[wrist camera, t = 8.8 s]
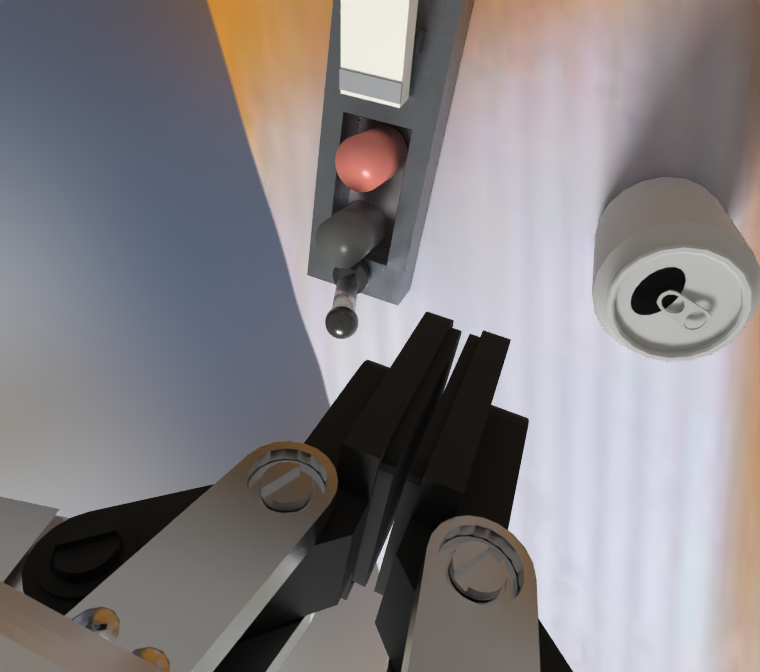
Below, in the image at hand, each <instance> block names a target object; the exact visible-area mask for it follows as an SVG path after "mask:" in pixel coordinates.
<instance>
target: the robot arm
mask: <svg viewBox="0 0 760 672" xmlns="http://www.w3.org/2000/svg"><path fill="white" fill-rule="evenodd" d="M452 327H453V320H451V319H448V318H445V317H442V316H439V315H436V314H433V313H430V312H426V313H425V314H424V316H423V318H422V319H421V321H420V322H419V324H418V325H417V327H416V328H415V330H414V332H413V333H412V335H411V336H410V338H409V339H408V341H407V343H406V344H405V346H404V347H403V349H402V350H401V352H400V353H399V355H398V357H397V358H396V360H395V361H394V363H393V364H392V366H391V368H389V367H386V366H383V365H381V364H378V363H375V362H373V361H370V360H366V361H365V362H364V363H363V364H362V365H361V366H360V368H359V369H358V370H357V372H356V373H355V374H354V376H353V377H352V378H351V380H350V381H349V383H348V384H347V385H346V387H345V388H344V389H343V391H342V392H341V393H340V395H339V396H338V398H337V399H336V400H335V402H334V403H333V404H332V406H331V407H330V409H329V410H328V411H327V413H326V414H325V415H324V417H323V418H322V419H321V421H320V422H319V424H318V425H317V427H316V428H315V429H314V430H313V432H312V433H311V434H310V436H309V437H308V439H307V440H306V441H305V443H299V442H291V441H284V442H273V443H270V444H268V445H264V446H261V447H259V448H257V449H256V450H254V451H253V452H251V453H250V454H248V455H247V456H246V457H245V458H244V459H243V460H241V461H240V462H239V463H238V464H237V465H236V466H235V467H233V468H232V469H231V470H230V471H229V472H228V473H227V474H225V475H224V476H223V477H222V478H221V479H220V480H219V481H217V482H216V483H215V484H213V485H209V486H205V487H200V488H195V489H190V490H187V491H181V492H177V493H173V494H168V495H164V496H159V497H154V498H149V499H145V500H140V501H136V502H132V503H127V504H122V505H118V506H113V507H108V508H104V509H99V510H95V511H90V512H87V513H84V514H81V515H78V516H75V517H72V518H66V517H62V515H61V512H60V509H56V508H51V507H46V506H42V505H37V504H32V503H27V502H23V501H18V500H13V499H9V498H4V497H0V672H277V670H278V669H279V667H280V666H281V664H282V663H283V662H284V660H285V659H286V657H287V656H288V654H289V653H290V652H291V650H292V649H293V647H294V646H295V644H296V643H297V641H298V640H299V639H300V637H301V636H302V634H303V633H304V631H305V630H306V628H307V627H308V626H309V624H310V622H311V620H312V618H313V616H314V614H315V612H318V611H321V610H323V609H326V608H329V607H332V606H335V605H337V604H338V602H339V600H340V598H343V599H345V600H346V599H347V597H348V595H349V593H350V591H351V588H352V586H353V584H354V582H356V583H358V584H360V585H362V586H364V587H365V586H366V584H367V582H368V579H369V577H370V575H371V573H372V570H373V568H374V565H375V563H376V561H377V559H378V557H379V554H380V552H381V550H382V547H383V545H384V543H385V540H386V538H387V536H388V533H389V531H390V529H391V526H392V524H393V522H394V524H393V527H392V531H391V534H390V538H389V541H388V545H387V548H386V552H385V555H384V558H383V562H382V565H381V569H380V572H379V576H378V580H377V583H376V587H375V590H374V591H375V592H377V593H379V594H381V595H383V598H382V602H381V605H380V608H379V611H378V615H377V618H376V621H375V624H376V627H377V629H378V632H379V634H380V636H381V639H382V641H383V644H384V646H385V649H386V651H387V654H388V657H387V660H386V662H385V668H384V672H573V671H572V669H571V668H570V666H569V665H568V663H567V662H566V660H565V659H564V657H563V656H562V654H561V653H560V651H559V649H558V648H557V646H556V645H555V643H554V642H553V640H552V639H551V637H550V636H549V634H548V632H547V631H546V629H545V628H544V626H543V625H542V623H541V622H540V620H539V619H538V606H537V583H536V575H535V570H534V566H533V562H532V560H531V558H530V556H529V554H528V553H527V551H526V549H525V547H524V546H523V545H522V544H521V543H520V542H519V540H518V539H517V538H516V537H515V536H514V535H513V534H512V533H511V532H509V531H508V526H509V521H510V516H511V511H512V505H513V500H514V495H515V490H516V485H517V480H518V475H519V470H520V464H521V459H522V454H523V449H524V444H525V439H526V434H527V429H528V422H529V420H528V418H526V417H523V416H520V415H517V414H515V413H512V412H509V411H506V410H504V409H501V408H498V407H496V406H493V405H491V403H492V400H493V396H494V393H495V390H496V387H497V383H498V380H499V377H500V374H501V370H502V367H503V364H504V360H505V357H506V354H507V351H508V347H509V344H510V341H511V340H510V339H507V338H504V337H501V336H498V335H495V334H492V333H489V332H486V331H483V332H482V335H481V337H478V336H475V335H472V334H470V335H469V337H468V339H467V341H466V344H465V346H464V348H463V350H462V353H461V355H460V357H459V359H458V362H457V364H456V366H455V368H454V370H453V373H452V375H451V377H450V379H449V382H448V384H447V386H446V388H445V385H446V382H447V379H448V376H449V372H450V369H451V366H452V362H453V359H454V356H455V353H456V349H457V346H458V343H459V339H460V336H461V331H460V330H457V329H454V328H452ZM444 389H445V391H444ZM443 392H444V393H443Z"/></svg>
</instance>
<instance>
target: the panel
mask: <svg viewBox="0 0 760 672" xmlns="http://www.w3.org/2000/svg"><path fill="white" fill-rule="evenodd" d="M473 4H474V0H418V7H417V17H416V27H415V37H414V47H413V57H412V67H411V77H410V87H409V97H408V99H407V101H406V102H405V103H404V104H403V105H402V106H401V107H400V108H397V107H393V106H389V105H385V104H381V103H377V102H373V101H369V100H365V99H361V98H357V97H353V96H349V95H345V94H341V90H340V89H339V69H340V68H341V0H333V11H332V21H331V32H330V42H329V53H328V63H327V74H326V84H325V95H324V106H323V116H322V127H321V137H320V148H319V158H318V169H317V179H316V190H315V200H314V211H313V221H312V232H311V242H310V253H309V264H308V274H307V275H309V276H312V277H315V278H318V279H321V280H324V281H327V282H330V283H333V284H336V285H337V281H338V279H339V278H340V277H341V276H343V275H351V276H353V277H354V278H355V279H356V280H357V283H358V289H357V294H358V293H363V294H366V295H369V296H371V297H374V298H377V299H380V300H383V301H386V302H389V303H392V304H395V305H399V303H400V302H401V301H402V299H403V298H404V297H405V295H406V294H407V293H408V291H409V290H410V286H411V281H412V277H413V272H414V268H415V263H416V259H417V254H418V250H419V245H420V241H421V236H422V232H423V227H424V223H425V218H426V214H427V209H428V205H429V201H430V196H431V192H432V187H433V183H434V178H435V174H436V169H437V165H438V160H439V156H440V151H441V147H442V142H443V138H444V133H445V129H446V124H447V120H448V116H449V111H450V107H451V102H452V98H453V93H454V89H455V84H456V80H457V75H458V71H459V66H460V62H461V57H462V53H463V48H464V44H465V39H466V35H467V30H468V26H469V22H470V17H471V13H472V8H473ZM359 116H362V117H366V118H370V119H373V120H377V121H381V122H385V123H389V124H393V125H397V126H401V127H405V128H408V129H412V135H411V140H410V146H409V151H408V156H407V161H406V167H405V172H404V177H403V182H402V188H401V193H400V198H399V204H398V209H397V214H396V219H395V225H394V230H393V235H392V241H391V246H390V249H387V248H384V247H381V246H378V245H376V246H375V247H374V248H373V249H372V250H371V251H370V252H369V253H367V254H366V255H365V256H364V257H363V258H362V259H361V260H360V261H359V262H358V263H357V264H356V265H354V266H352V267H350V268H337V267H334V266H332V265H330V264H329V263H327V262H326V261H325V260H324V259H323V258H322V256H321V255H320V253H319V252H318V249H317V246H316V241H315V236H316V232H317V229H318V227H319V226H320V224H321V223H322V222H324V221H325V220H326V219H328V218H329V217H331V216H332V215H334V214H335V213H337V212H338V211H340V210H341V209H343V208H344V207H346V206H347V204H348V196H349V189H350V188H349V187H347V186H346V185H345V184H344V183H343V182H342V180H341V179H340V177H339V175H338V173H337V170H336V165H335V157H336V153H337V150H338V148H339V146H340V145H341V143H342V142H343V141H344V140H346V139H347V138H350V137H352V136H354V135H357V128H358V121H359Z"/></svg>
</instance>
